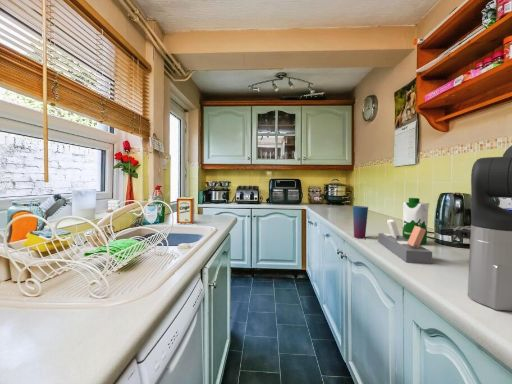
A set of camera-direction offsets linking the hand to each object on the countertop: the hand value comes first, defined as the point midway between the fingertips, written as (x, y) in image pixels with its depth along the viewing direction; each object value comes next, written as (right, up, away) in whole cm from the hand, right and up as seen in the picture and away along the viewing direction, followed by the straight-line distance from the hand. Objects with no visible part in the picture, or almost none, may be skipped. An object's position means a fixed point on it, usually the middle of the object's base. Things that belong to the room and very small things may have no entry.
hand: (439, 231), depth 87 cm
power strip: (-7, -9, +14) cm, 18 cm away
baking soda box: (-109, -6, +70) cm, 129 cm away
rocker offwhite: (-6, -5, +15) cm, 17 cm away
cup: (-14, -8, +34) cm, 38 cm away
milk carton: (+7, -9, +25) cm, 27 cm away
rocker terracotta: (-9, -5, +2) cm, 10 cm away
